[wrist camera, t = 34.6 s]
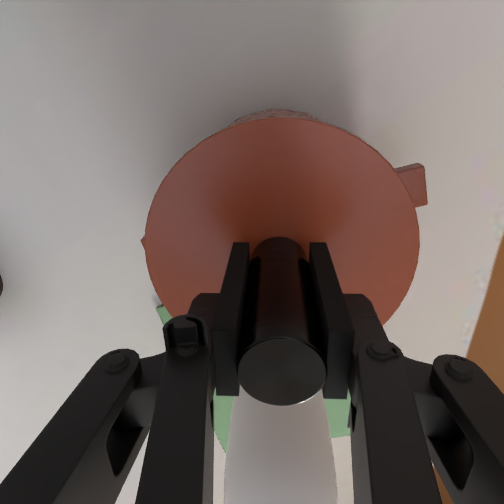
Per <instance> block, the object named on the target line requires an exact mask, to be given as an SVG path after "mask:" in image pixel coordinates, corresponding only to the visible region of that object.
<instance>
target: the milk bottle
mask: <svg viewBox="0 0 504 504" xmlns="http://www.w3.org/2000/svg"><path fill="white" fill-rule="evenodd" d="M224 504H338V497H337V481H336V473H335V464H334V456H333V449H332V443H331V436H330V429H329V423H328V416H327V410H326V404H325V399H323V394H322V389H321V390H320V391H319V392H318V393H317V394H316V395H315V396H314V397H312V398H311V399H309V400H307V401H305V402H303V403H300V404H296V405H290V406H275V405H270V404H266V403H263V402H260V401H258V400H256V399H254V398H253V397H251V396H250V395H249V394H248V393H246V392H245V390H244V389H243V388H242V387H241V385H240V391H239V396H234V397H233V405H232V413H231V421H230V429H229V437H228V446H227V454H226V465H225V476H224Z"/></svg>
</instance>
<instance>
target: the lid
mask: <svg viewBox="0 0 504 504" xmlns="http://www.w3.org/2000/svg"><path fill="white" fill-rule="evenodd" d="M233 242H249V246H250V267H249V275H248V282H247V289H246V297H245V304H244V311H243V319H242V326H241V333H240V341H239V348H238V355H237V362H236V375H237V379H238V381H239V383H240V385H241V387H242V388H243V389H244V390H245V392H246V393H248V394H249V395H250V396H251V397H253V398H254V399H256V400H258V401H260V402H263V403H266V404H270V405H275V406H290V405H296V404H300V403H303V402H305V401H307V400H309V399H311V398H312V397H314V396H315V395H316V394H317V393H318V392H319V391H320V390H321V389H322V388H323V386H324V384H325V382H326V379H327V375H328V366H327V361H326V355H325V350H324V345H323V339H322V334H321V329H320V324H319V318H318V313H317V308H316V302H315V297H314V292H313V286H312V281H311V276H310V271H309V265H308V264H309V244H310V242H326V243H327V246H328V250H329V253H330V256H331V259H332V262H333V265H334V268H335V271H336V274H337V277H338V280H339V284H340V287H341V290H342V293H344V294H363V295H365V296H366V297H367V298H368V299H369V300H370V301H371V302H372V304H373V307H374V309H375V311H376V313H377V316H378V318H379V320H380V322H381V325H382V326H383V325H384V324H385V323H386V322H387V321H388V320H389V319H390V317H391V316H392V315H393V314H394V312H395V311H396V310H397V309H398V307H399V306H400V304H401V302H402V301H403V299H404V297H405V296H406V294H407V292H408V290H409V287H410V285H411V283H412V280H413V278H414V274H415V270H416V267H417V263H418V255H419V247H420V241H419V225H418V220H417V214H416V210H415V207H414V205H413V202H412V199H411V196H410V194H409V192H408V190H407V188H406V186H405V184H404V183H403V181H402V179H401V178H400V176H399V175H398V174H397V172H396V171H395V170H394V168H393V167H392V166H391V164H390V163H389V162H388V161H387V160H386V159H385V158H384V157H383V156H382V155H381V154H380V153H379V152H378V151H377V150H375V149H374V148H372V147H371V146H370V145H368V144H367V143H366V142H364V141H363V140H361V139H360V138H358V137H357V136H355V135H353V134H351V133H349V132H347V131H345V130H343V129H341V128H339V127H336V126H333V125H330V124H327V123H324V122H321V121H317V120H311V119H306V118H301V117H282V116H279V117H268V118H258V119H254V120H250V121H246V122H241V123H238V124H235V125H233V126H230V127H228V128H225V129H222V130H220V131H218V132H217V133H215V134H213V135H211V136H209V137H208V138H206V139H204V140H203V141H201V142H200V143H199V144H197V145H196V146H195V147H194V148H192V149H191V150H190V151H188V152H187V153H186V154H185V155H184V156H183V157H182V158H181V159H180V160H179V161H178V162H177V163H176V164H175V165H174V166H173V167H172V169H171V170H170V171H169V173H168V174H167V176H166V177H165V178H164V180H163V181H162V183H161V185H160V187H159V189H158V191H157V192H156V194H155V196H154V199H153V202H152V204H151V207H150V210H149V213H148V218H147V223H146V229H145V254H146V262H147V267H148V271H149V275H150V278H151V281H152V283H153V286H154V288H155V291H156V293H157V295H158V296H159V298H160V300H161V302H162V304H163V305H164V307H165V308H166V309H167V311H168V312H169V313H170V315H171V316H172V317H173V318H174V317H176V316H179V315H184V314H187V313H188V310H189V308H190V305H191V302H192V300H193V299H194V298H195V297H196V296H197V295H198V294H200V293H220V291H221V287H222V283H223V279H224V275H225V272H226V268H227V264H228V260H229V256H230V253H231V249H232V245H233Z"/></svg>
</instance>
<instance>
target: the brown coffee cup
mask: <svg viewBox="0 0 504 504" xmlns="http://www.w3.org/2000/svg"><path fill="white" fill-rule="evenodd" d="M2 290H3V283H2V278H1V275H0V296H1V293H2Z"/></svg>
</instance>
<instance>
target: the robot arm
mask: <svg viewBox="0 0 504 504" xmlns="http://www.w3.org/2000/svg"><path fill="white" fill-rule="evenodd" d="M308 265H309V271H310V276H311V281H312V286H313V292H314V297H315V302H316V308H317V313H318V318H319V324H320V329H321V334H322V339H323V345H324V350H325V355H326V361H327V366H328V375H327V379H326V382H325V384H324V386H323V388H322V394H323V399H346V400H347V394H348V389H349V393H350V397H351V402H350V410H349V417H348V425H347V428H349V429H350V434H351V452H352V471H353V489H354V504H442V500H441V496H440V493H439V489H438V485H437V481H436V478H435V474H434V470H433V466H432V462H433V464H434V466H435V468H436V470H437V472H438V474H439V476H440V478H441V479H442V481H443V483H444V485H445V487H446V489H447V491H448V493H449V495H450V497H451V498H452V500H453V502H454V504H504V394H503V393H502V392H501V391H500V390H499V388H498V387H497V386H496V385H495V384H494V383H493V382H492V380H491V379H490V378H489V377H488V376H487V375H486V373H485V372H484V371H483V370H482V369H481V368H480V367H479V366H478V365H476V364H475V363H474V362H472V361H470V360H468V359H466V358H463V357H460V356H457V355H448V354H445V355H441V356H438V357H437V358H435V359H434V362H433V365H432V364H428V363H423V362H419V361H415V360H412V359H409V358H407V357H405V356H403V353H402V352H401V350H400V348H398V347H397V346H396V345H395V344H393V343H391V342H389V340H388V338H387V336H386V334H385V331H384V329H383V327H382V325H381V322H380V320H379V318H378V316H377V313H376V311H375V309H374V307H373V304H372V302H371V301H370V300H369V299H368V298H367V297H366V296H365V295H363V294H344V293H342V290H341V287H340V284H339V280H338V277H337V274H336V271H335V268H334V265H333V262H332V259H331V256H330V253H329V250H328V246H327V243H326V242H310V244H309V264H308ZM249 267H250V246H249V242H233V245H232V249H231V253H230V256H229V260H228V264H227V268H226V272H225V275H224V279H223V283H222V287H221V291H220V293H200V294H198V295H197V296H196V297H195V298H194V299H193V300H192V302H191V305H190V308H189V310H188V313H187V314H184V315H179V316H176V317H174V318H171V319H170V320H169V321H167V322H166V323H165V325H164V327H163V334H164V340H165V347H166V352H164V353H161V354H159V355H155V356H151V357H146V358H142V359H140V358H139V354H138V353H136V352H135V351H134V350H130V349H118V350H114V351H110V352H109V353H107V354H105V355H103V356H102V357H101V358H100V359H99V360H97V361H96V363H95V364H94V365H93V366H92V368H91V369H90V370H89V372H88V373H87V374H86V375H85V377H84V378H83V379H82V381H81V382H80V383H79V384H78V386H77V387H76V388H75V389H74V391H73V392H72V393H71V395H70V396H69V397H68V398H67V400H66V401H65V402H64V404H63V405H62V406H61V407H60V409H59V410H58V411H57V412H56V414H55V415H54V416H53V418H52V419H51V420H50V421H49V423H48V424H47V425H46V427H45V428H44V429H43V430H42V432H41V433H40V434H39V435H38V437H37V438H36V439H35V441H34V442H33V443H32V444H31V446H30V447H29V448H28V450H27V451H26V452H25V453H24V455H23V456H22V457H21V458H20V460H19V461H18V462H17V464H16V465H15V466H14V467H13V469H12V470H11V471H10V473H9V474H8V475H7V476H6V478H5V479H4V480H3V481H2V483H1V484H0V504H115V502H116V500H117V497H118V495H119V493H120V491H121V489H122V487H123V485H124V483H125V481H126V478H127V476H128V474H129V472H130V470H131V468H132V466H133V464H134V462H135V460H136V457H137V455H138V453H139V451H140V449H141V447H142V445H143V443H144V441H145V438H146V436H147V434H148V432H149V430H150V432H149V437H148V442H147V447H146V452H145V457H144V462H143V467H142V472H141V477H140V482H139V487H138V492H137V496H136V501H135V504H213V463H214V398H213V396H214V391H215V387H216V396H239V391H240V383H239V381H238V379H237V375H236V362H237V355H238V348H239V341H240V333H241V326H242V319H243V311H244V304H245V297H246V289H247V282H248V275H249ZM431 460H432V462H431Z"/></svg>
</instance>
